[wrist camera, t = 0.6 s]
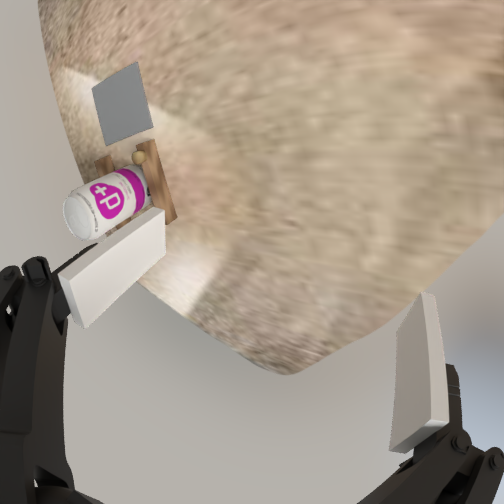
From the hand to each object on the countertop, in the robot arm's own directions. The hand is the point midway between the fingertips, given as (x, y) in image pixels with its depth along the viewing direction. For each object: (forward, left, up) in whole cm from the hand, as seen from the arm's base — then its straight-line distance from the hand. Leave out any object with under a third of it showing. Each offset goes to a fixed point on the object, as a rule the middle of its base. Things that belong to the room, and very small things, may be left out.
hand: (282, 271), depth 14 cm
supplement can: (-1, -34, -27) cm, 44 cm away
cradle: (-1, -34, -27) cm, 44 cm away
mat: (-16, -33, -27) cm, 46 cm away
